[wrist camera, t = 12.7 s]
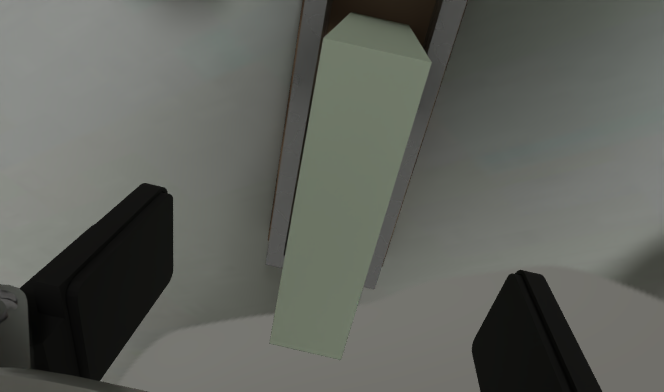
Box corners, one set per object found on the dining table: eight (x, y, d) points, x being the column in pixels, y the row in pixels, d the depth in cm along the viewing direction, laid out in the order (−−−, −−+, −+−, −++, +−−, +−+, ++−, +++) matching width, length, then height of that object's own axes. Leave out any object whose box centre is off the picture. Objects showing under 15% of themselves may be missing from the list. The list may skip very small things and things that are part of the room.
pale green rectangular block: (351, 12, 21) (323, 37, 11) (408, 25, 21) (431, 62, 11) (310, 210, 26) (269, 343, 17) (356, 221, 26) (341, 360, 17)
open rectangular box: (316, -65, 20) (303, -73, 17) (472, -30, 20) (489, -32, 17) (271, 231, 29) (257, 262, 26) (382, 256, 29) (382, 290, 26)
